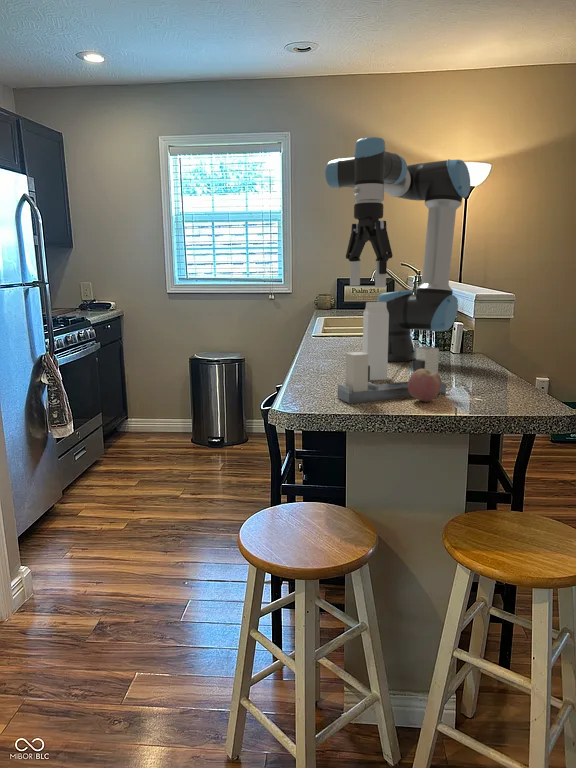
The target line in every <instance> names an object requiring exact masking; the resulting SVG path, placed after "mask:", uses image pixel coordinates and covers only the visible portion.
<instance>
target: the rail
mask: <svg viewBox="0 0 576 768" xmlns="http://www.w3.org/2000/svg"><path fill="white" fill-rule="evenodd" d="M415 351H416V352H415V359H414V363H413V364H414V367H413V372H415V371H416V370H418V369H428V370H431V371H433V372H435V373H437V374H438V375H439V357H440V356H439V355H440V348H437V347H435V346H434V347H433V346H419V347H418V346H416V348H415ZM446 393H447V383H446V382H443V381H441V389H440V391H439V393H438V395H441V394H446ZM338 398H339V399H338ZM404 398H414V397H413V396H411V395H410V393H409V390H408V381H402V382H400V381H399V382H389V383H382V384H381V383H380V384H375V383H372V382H368V391H360V392H352V388H350V387H347V386H345V384H343V383H337V399H338V400H340V399H341V400H340V401H342V400H343V401H342V402H345V403H346V402H347V403H346V404H349V405H351V404H358V403H359V404H360V403H368V402H377V401H385V400H386V401H387V400H388V401H389V400H397V399H404Z"/></svg>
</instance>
